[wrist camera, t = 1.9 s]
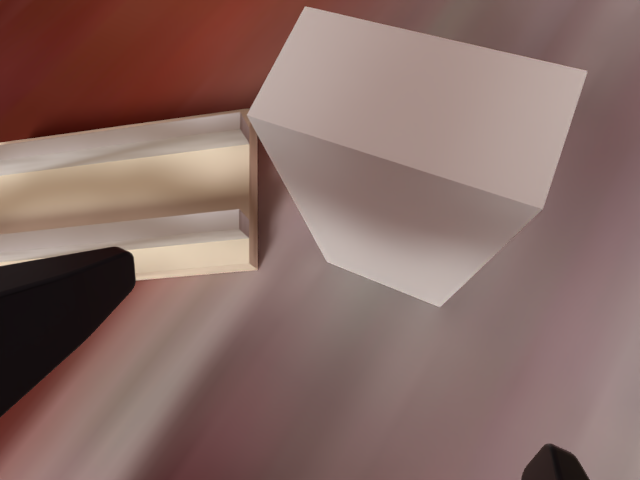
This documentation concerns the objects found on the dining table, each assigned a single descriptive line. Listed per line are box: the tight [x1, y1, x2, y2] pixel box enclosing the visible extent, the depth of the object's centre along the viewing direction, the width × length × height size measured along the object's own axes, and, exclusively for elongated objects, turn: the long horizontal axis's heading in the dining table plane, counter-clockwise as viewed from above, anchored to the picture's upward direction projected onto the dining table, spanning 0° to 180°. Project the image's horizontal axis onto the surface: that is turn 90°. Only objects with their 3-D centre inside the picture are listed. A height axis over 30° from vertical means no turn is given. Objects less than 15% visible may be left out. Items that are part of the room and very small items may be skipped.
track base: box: [0, 108, 258, 280], centre depth 22 cm, size 9×16×3 cm, turn 94°
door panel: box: [247, 6, 588, 307], centre depth 14 cm, size 3×6×13 cm, turn 67°
